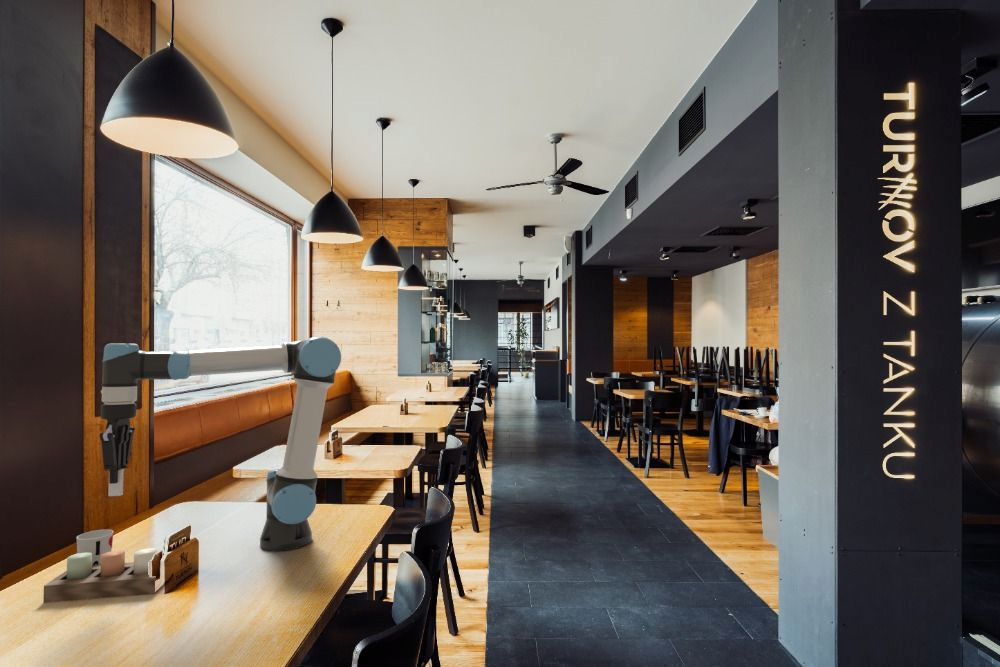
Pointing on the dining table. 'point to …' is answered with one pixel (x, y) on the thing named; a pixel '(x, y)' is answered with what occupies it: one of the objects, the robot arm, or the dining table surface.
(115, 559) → the pink rounded cube
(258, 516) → the dining table surface
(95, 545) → the cup
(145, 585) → the wooden slotted tray
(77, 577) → the pale green rounded cube
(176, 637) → the dining table surface
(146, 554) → the button cream
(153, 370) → the robot arm
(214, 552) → the dining table surface
